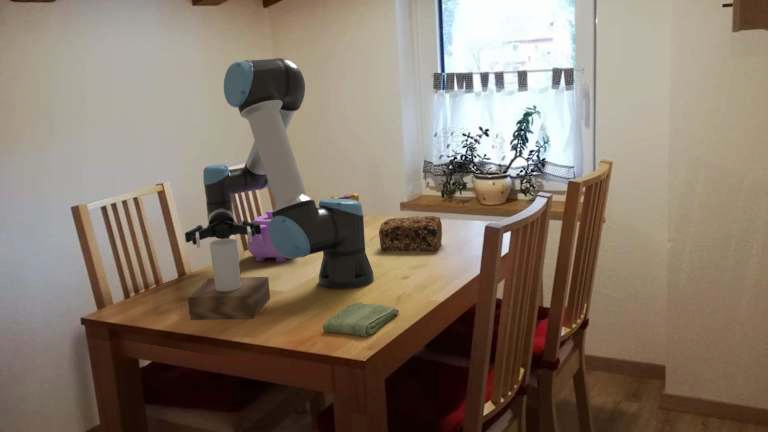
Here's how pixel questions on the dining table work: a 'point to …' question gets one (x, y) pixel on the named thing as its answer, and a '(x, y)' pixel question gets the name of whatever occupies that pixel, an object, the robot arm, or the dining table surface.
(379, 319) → the washcloth
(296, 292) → the dining table surface
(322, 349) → the dining table surface
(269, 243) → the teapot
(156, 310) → the dining table surface
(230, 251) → the mug
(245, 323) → the dining table surface
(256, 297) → the walnut block
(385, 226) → the bread
